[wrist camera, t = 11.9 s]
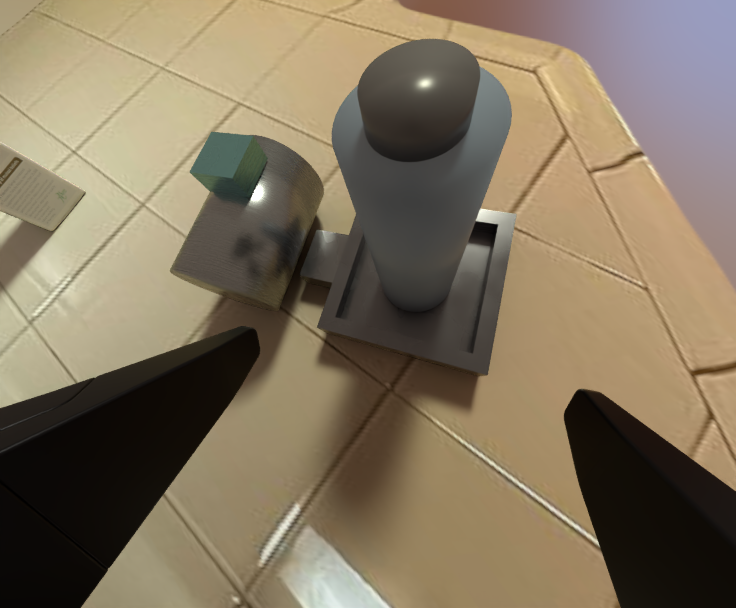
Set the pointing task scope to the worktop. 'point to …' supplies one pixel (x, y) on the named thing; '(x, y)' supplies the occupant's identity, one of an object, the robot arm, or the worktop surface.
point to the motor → (331, 257)
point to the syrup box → (34, 190)
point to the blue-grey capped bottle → (420, 162)
